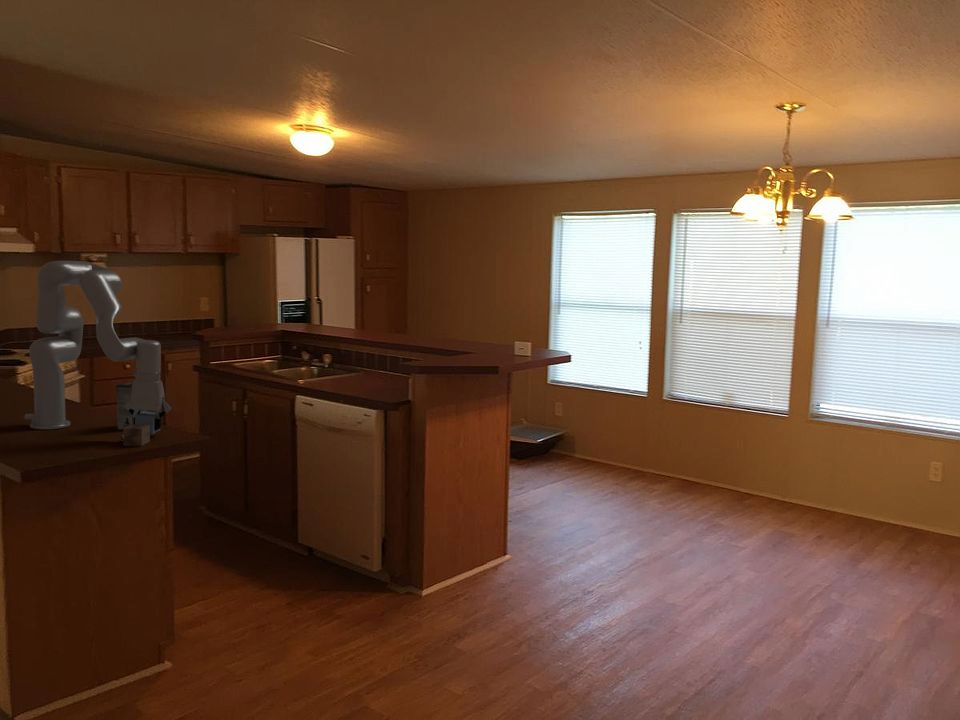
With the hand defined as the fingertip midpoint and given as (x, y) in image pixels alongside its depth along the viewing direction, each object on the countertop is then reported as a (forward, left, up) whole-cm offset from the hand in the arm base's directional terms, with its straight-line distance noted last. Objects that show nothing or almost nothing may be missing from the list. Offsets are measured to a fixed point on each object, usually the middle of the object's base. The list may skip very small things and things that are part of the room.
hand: (147, 428), depth 261 cm
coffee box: (-11, +14, -3) cm, 18 cm away
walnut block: (+1, -10, -3) cm, 11 cm away
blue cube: (0, 0, -1) cm, 1 cm away
